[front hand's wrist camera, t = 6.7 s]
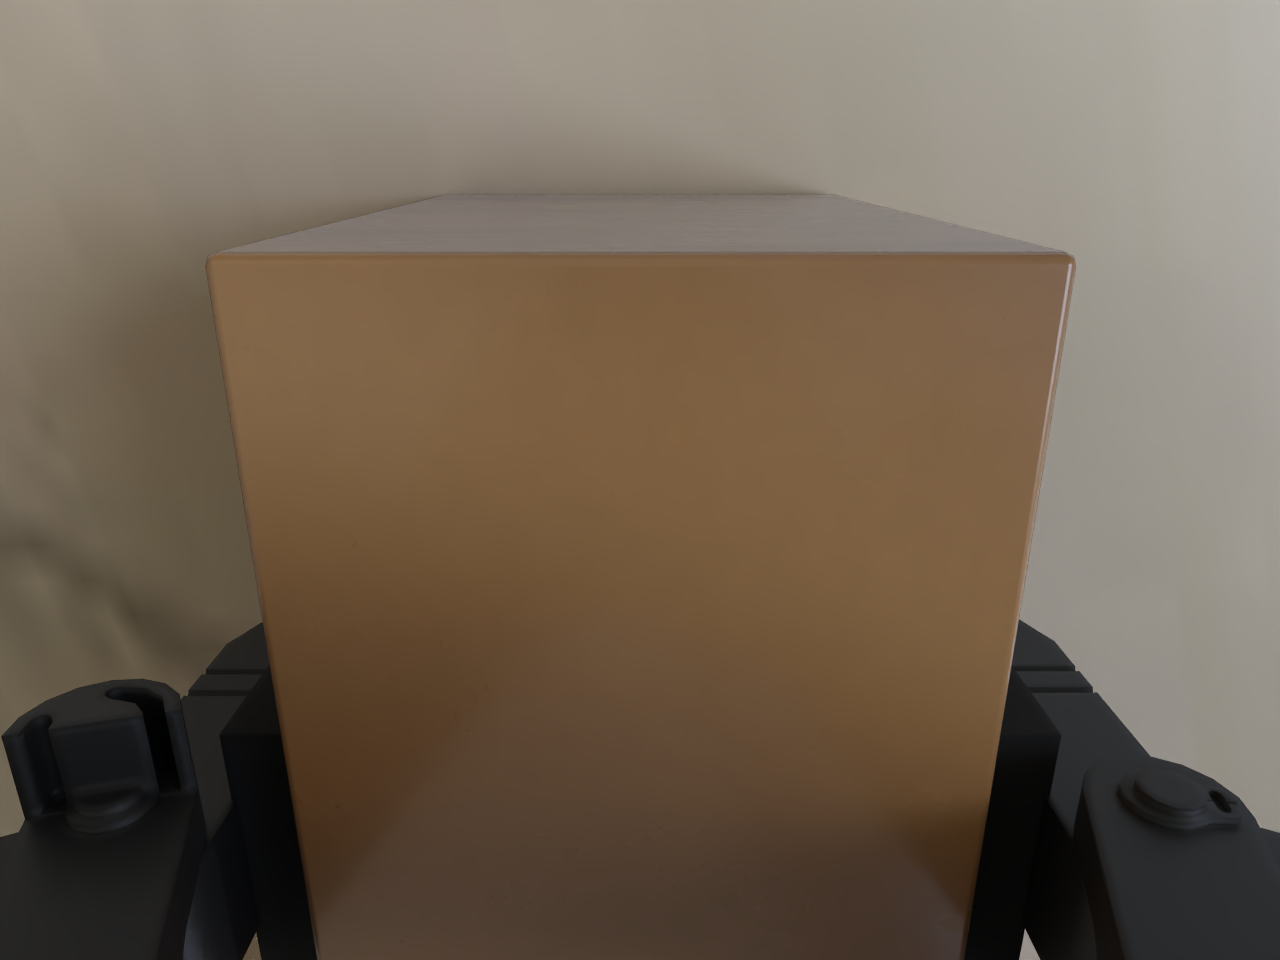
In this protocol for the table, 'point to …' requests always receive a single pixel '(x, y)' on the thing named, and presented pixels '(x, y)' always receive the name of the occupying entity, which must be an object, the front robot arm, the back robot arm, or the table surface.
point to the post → (640, 566)
